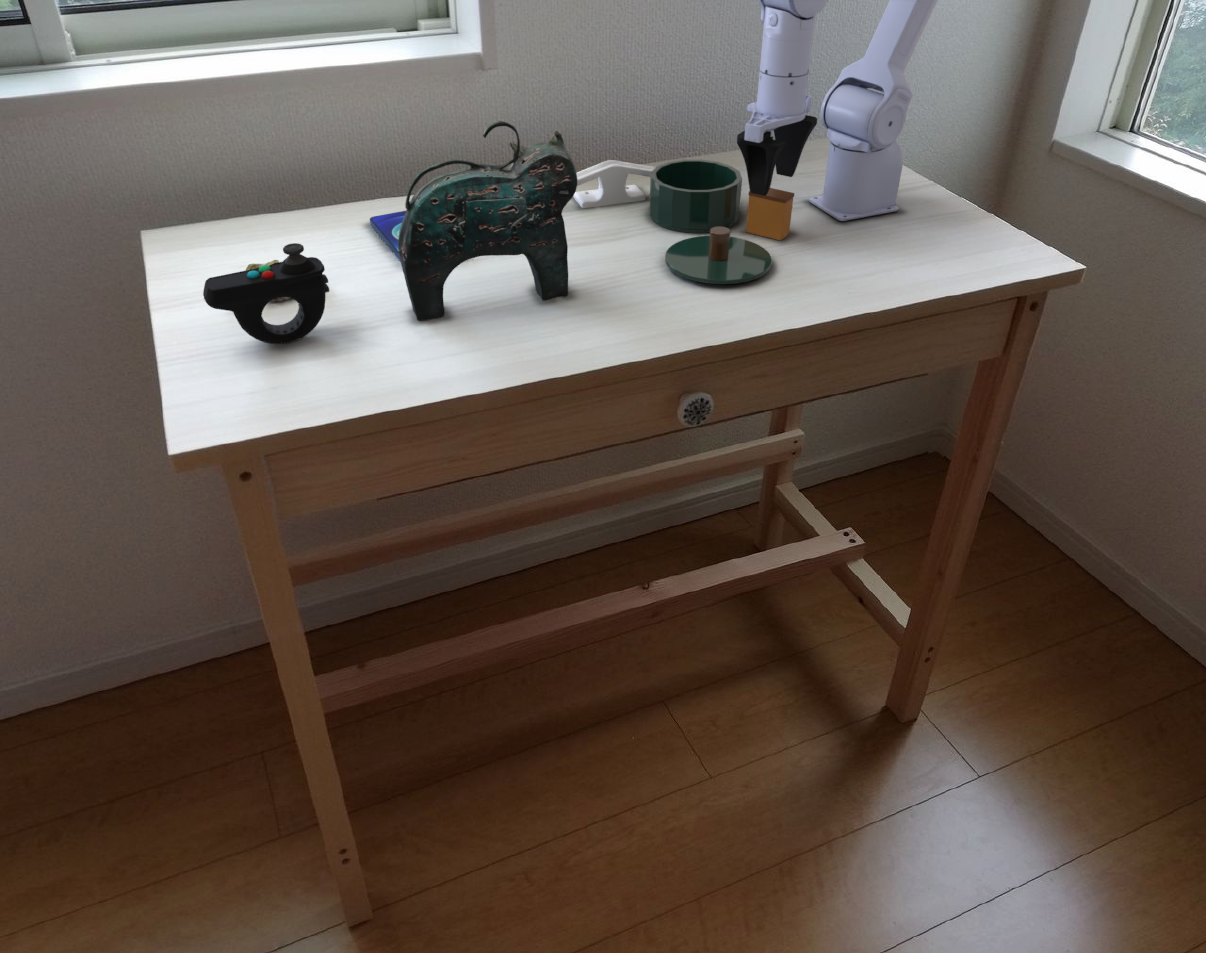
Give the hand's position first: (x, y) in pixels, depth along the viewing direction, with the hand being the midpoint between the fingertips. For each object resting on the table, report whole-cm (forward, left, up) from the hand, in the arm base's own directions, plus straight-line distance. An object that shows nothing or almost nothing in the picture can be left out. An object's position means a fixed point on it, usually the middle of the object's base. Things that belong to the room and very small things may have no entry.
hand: (772, 183), depth 125 cm
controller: (+62, +4, -7) cm, 63 cm away
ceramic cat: (+38, +5, -7) cm, 39 cm away
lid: (+10, +6, -6) cm, 13 cm away
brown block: (0, 0, -7) cm, 7 cm away
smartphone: (+42, -16, -7) cm, 46 cm away
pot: (+6, -9, -7) cm, 13 cm away
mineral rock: (+61, -9, -7) cm, 62 cm away
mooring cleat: (+14, -19, -7) cm, 24 cm away
